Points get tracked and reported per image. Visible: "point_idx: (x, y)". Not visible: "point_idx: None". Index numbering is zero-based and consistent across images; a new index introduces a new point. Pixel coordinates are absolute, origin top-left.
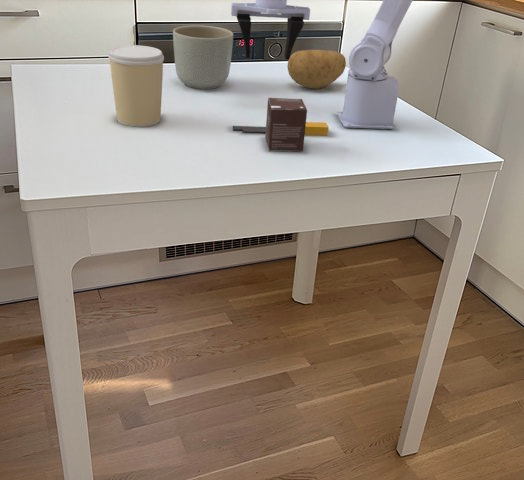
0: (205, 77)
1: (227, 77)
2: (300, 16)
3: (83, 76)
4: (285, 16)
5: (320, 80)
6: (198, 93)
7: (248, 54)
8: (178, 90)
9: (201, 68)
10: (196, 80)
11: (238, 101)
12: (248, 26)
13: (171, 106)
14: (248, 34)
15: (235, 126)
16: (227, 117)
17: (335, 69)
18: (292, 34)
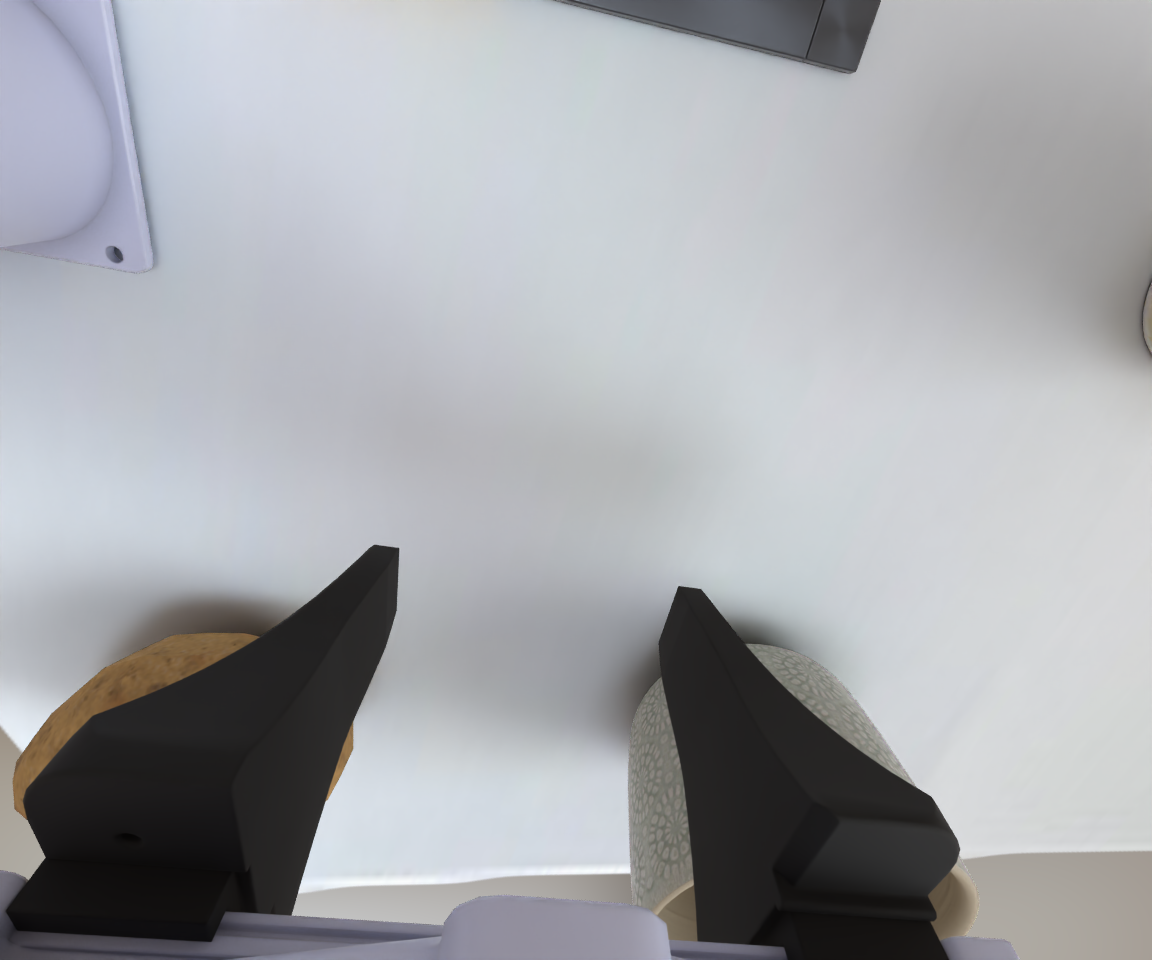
0: (777, 663)
1: (646, 697)
2: (58, 941)
3: (1107, 770)
4: (302, 940)
5: (200, 641)
6: (785, 608)
7: (695, 598)
8: (850, 642)
9: (812, 696)
10: (806, 660)
11: (649, 509)
12: (815, 771)
13: (985, 458)
14: (763, 711)
15: (846, 53)
16: (796, 278)
17: (86, 689)
18: (279, 671)
